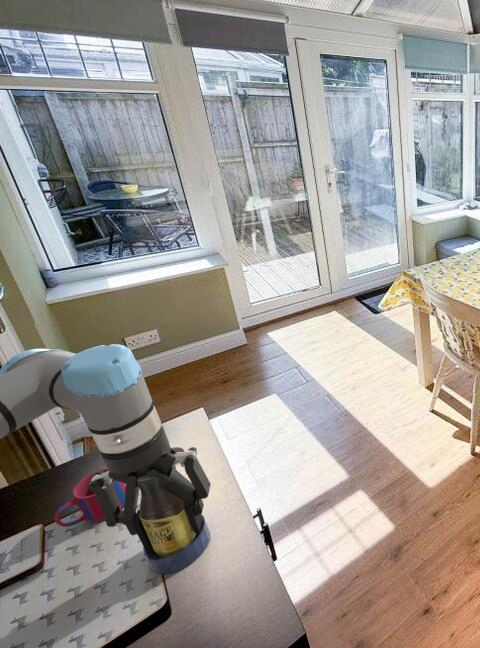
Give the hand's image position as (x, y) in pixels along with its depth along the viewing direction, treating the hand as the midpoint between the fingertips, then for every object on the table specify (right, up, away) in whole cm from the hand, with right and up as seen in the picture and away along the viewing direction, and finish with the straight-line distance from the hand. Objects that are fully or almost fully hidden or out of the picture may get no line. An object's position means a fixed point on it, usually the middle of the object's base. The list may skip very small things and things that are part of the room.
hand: (174, 533), depth 74 cm
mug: (-21, -1, +7) cm, 22 cm away
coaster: (-17, +4, +19) cm, 26 cm away
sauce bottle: (0, -4, +2) cm, 4 cm away
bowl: (0, -4, +2) cm, 4 cm away
